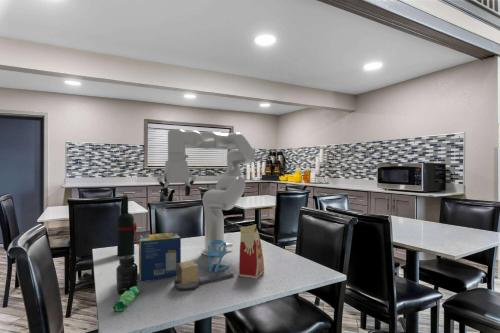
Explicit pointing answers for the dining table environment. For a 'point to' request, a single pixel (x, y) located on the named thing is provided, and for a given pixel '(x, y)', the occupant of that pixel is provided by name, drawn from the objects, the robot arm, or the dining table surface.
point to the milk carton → (250, 253)
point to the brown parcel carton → (187, 272)
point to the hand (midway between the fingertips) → (176, 196)
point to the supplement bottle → (126, 274)
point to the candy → (126, 298)
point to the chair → (217, 255)
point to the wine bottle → (126, 231)
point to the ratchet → (202, 281)
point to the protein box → (159, 256)
